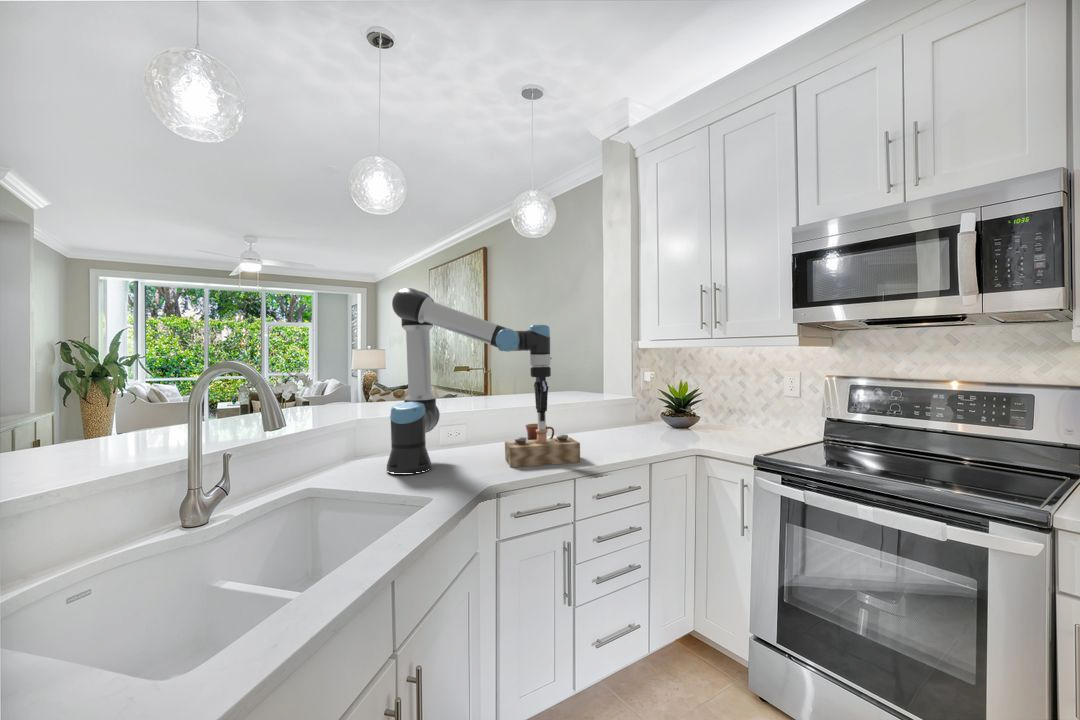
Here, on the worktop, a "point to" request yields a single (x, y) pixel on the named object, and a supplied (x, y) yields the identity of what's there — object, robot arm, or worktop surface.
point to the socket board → (542, 452)
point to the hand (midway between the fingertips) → (541, 429)
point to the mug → (532, 431)
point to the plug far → (562, 438)
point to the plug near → (520, 440)
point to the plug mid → (541, 436)
